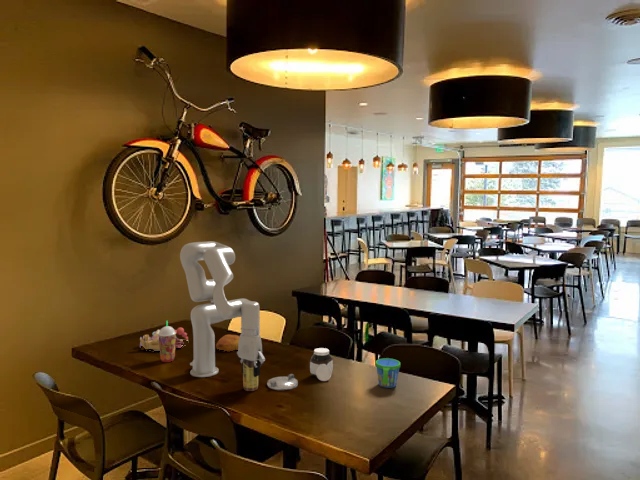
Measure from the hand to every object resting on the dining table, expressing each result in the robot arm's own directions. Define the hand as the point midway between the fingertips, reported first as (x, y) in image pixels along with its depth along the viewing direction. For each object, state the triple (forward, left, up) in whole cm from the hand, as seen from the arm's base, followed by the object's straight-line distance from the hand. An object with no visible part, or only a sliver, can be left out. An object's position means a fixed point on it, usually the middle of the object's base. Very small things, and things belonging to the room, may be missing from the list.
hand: (250, 373), depth 198 cm
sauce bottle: (0, 0, -7) cm, 7 cm away
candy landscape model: (-82, +15, -7) cm, 84 cm away
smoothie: (-59, +1, -7) cm, 59 cm away
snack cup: (+43, +39, -7) cm, 58 cm away
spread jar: (+15, +30, -7) cm, 34 cm away
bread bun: (-51, +34, -7) cm, 62 cm away
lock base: (+7, +12, -7) cm, 15 cm away
